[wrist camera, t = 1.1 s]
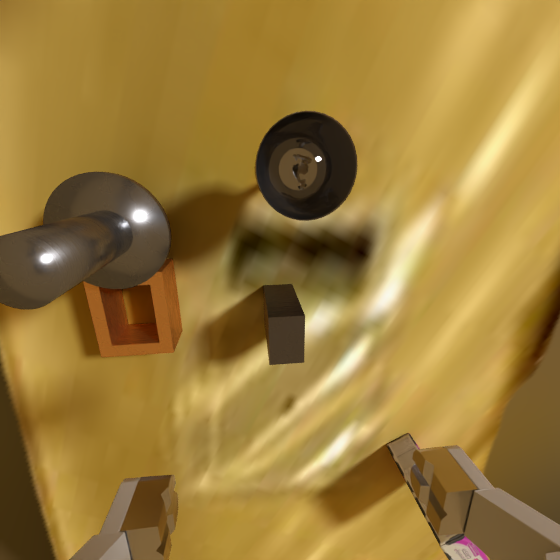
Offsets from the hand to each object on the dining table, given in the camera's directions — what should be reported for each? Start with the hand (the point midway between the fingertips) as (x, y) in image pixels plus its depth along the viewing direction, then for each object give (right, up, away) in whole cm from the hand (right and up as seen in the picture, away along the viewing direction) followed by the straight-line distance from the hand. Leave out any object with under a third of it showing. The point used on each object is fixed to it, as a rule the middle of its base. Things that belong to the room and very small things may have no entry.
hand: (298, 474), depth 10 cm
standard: (-19, +9, +29) cm, 36 cm away
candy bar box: (+23, -26, +46) cm, 58 cm away
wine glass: (0, +20, +27) cm, 34 cm away
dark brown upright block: (-1, +3, +33) cm, 33 cm away
